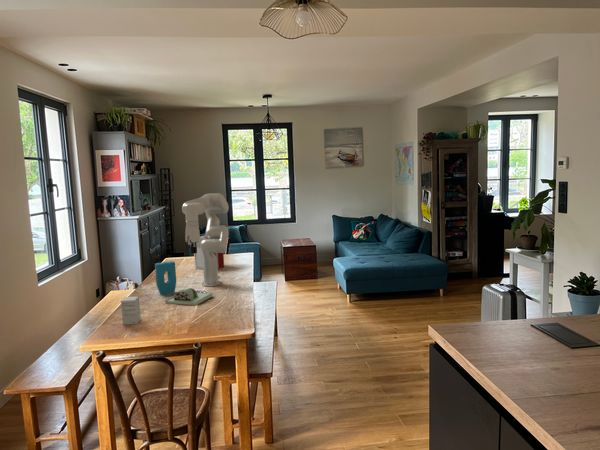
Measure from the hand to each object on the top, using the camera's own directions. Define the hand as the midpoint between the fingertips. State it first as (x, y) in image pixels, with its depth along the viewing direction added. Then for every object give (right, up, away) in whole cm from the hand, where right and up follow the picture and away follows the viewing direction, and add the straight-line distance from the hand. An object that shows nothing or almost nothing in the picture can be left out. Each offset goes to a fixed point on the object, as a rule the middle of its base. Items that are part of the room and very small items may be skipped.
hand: (194, 253), depth 274 cm
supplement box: (-22, -33, -44) cm, 59 cm away
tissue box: (-8, -18, +88) cm, 90 cm away
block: (-20, -27, +12) cm, 36 cm away
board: (-2, -28, -6) cm, 29 cm away
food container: (-1, -23, -4) cm, 23 cm away
